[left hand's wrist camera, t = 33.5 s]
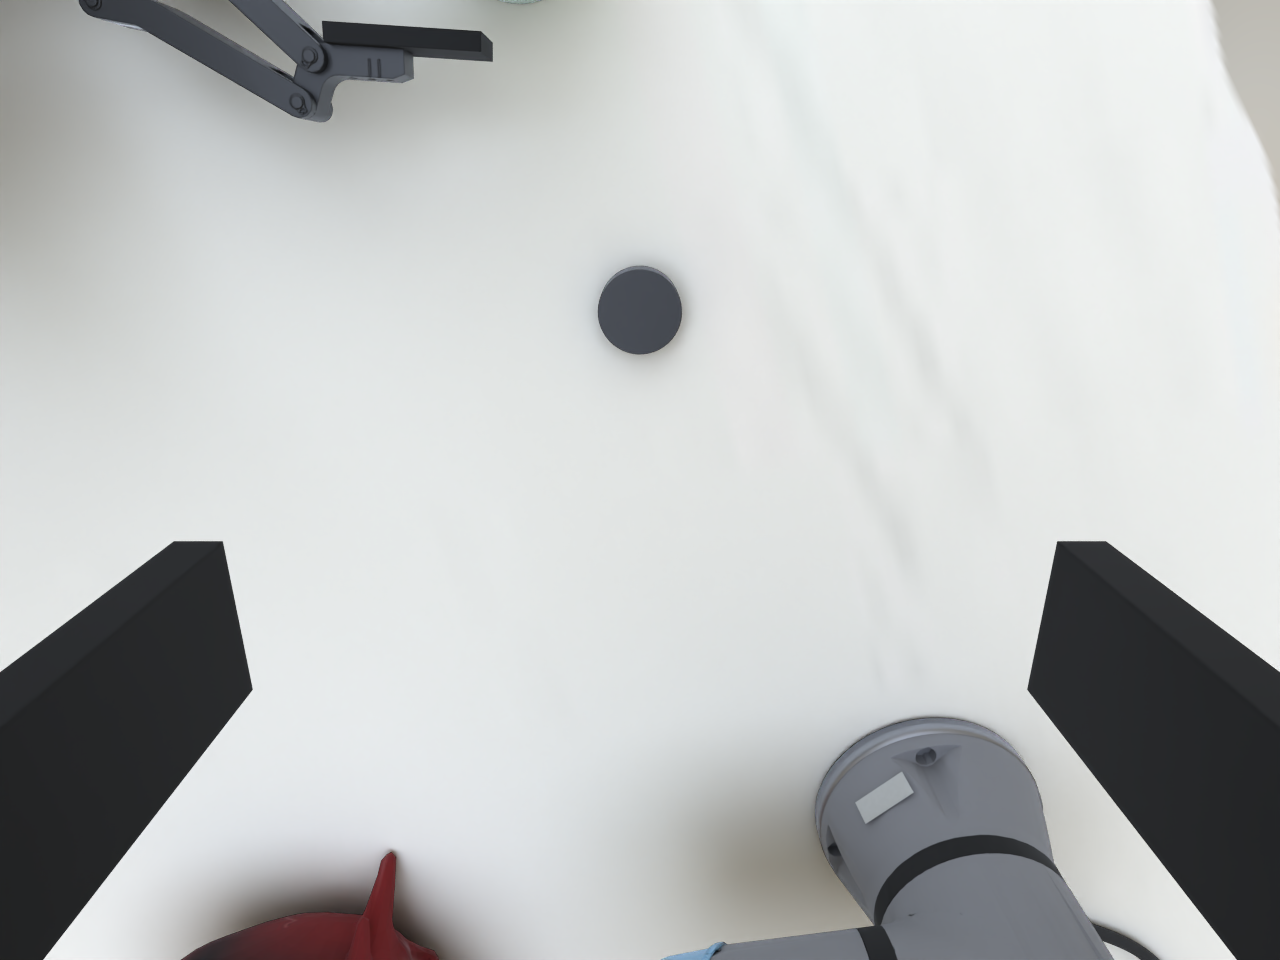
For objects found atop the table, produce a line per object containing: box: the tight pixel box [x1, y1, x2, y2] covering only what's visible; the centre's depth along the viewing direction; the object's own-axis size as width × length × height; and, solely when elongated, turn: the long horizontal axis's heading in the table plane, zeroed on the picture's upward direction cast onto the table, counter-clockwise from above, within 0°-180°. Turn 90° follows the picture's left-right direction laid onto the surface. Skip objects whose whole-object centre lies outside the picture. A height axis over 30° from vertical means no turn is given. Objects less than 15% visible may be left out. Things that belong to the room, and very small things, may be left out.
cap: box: [598, 266, 682, 354], centre depth 43 cm, size 4×4×2 cm
